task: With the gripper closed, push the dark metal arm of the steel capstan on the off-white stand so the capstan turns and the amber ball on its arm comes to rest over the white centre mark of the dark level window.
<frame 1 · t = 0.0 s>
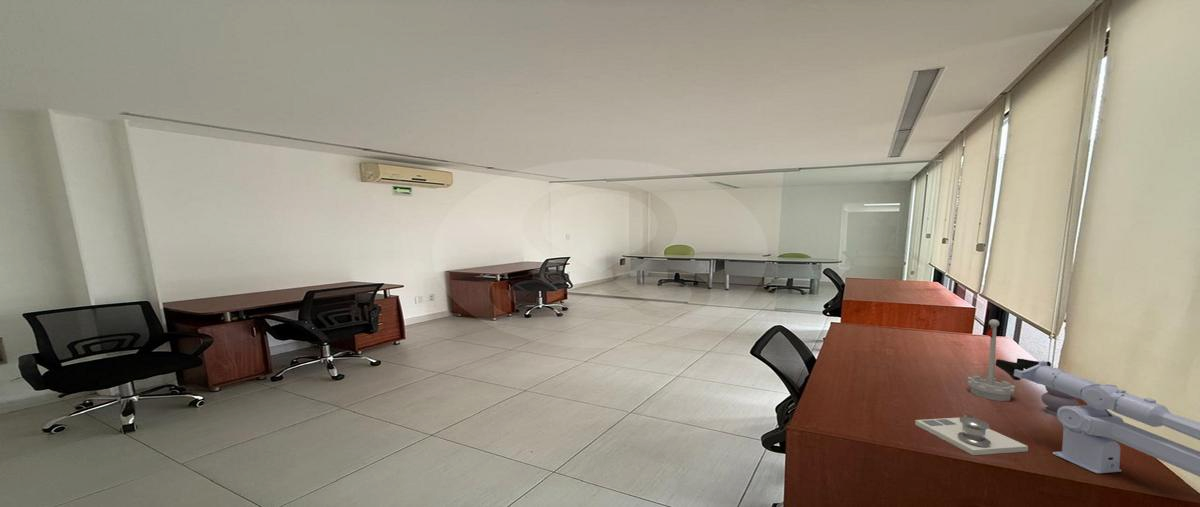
hand: (1007, 361, 126), 22 cm above the table, tool horizontal, fingers open, 7 cm apart
grey wavy vase: (1058, 414, 137), on the table
flag stand: (989, 395, 153), on the table
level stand: (967, 437, 121), on the table
capstan: (972, 425, 120), point 4 cm above the table, hinge at -45.0°
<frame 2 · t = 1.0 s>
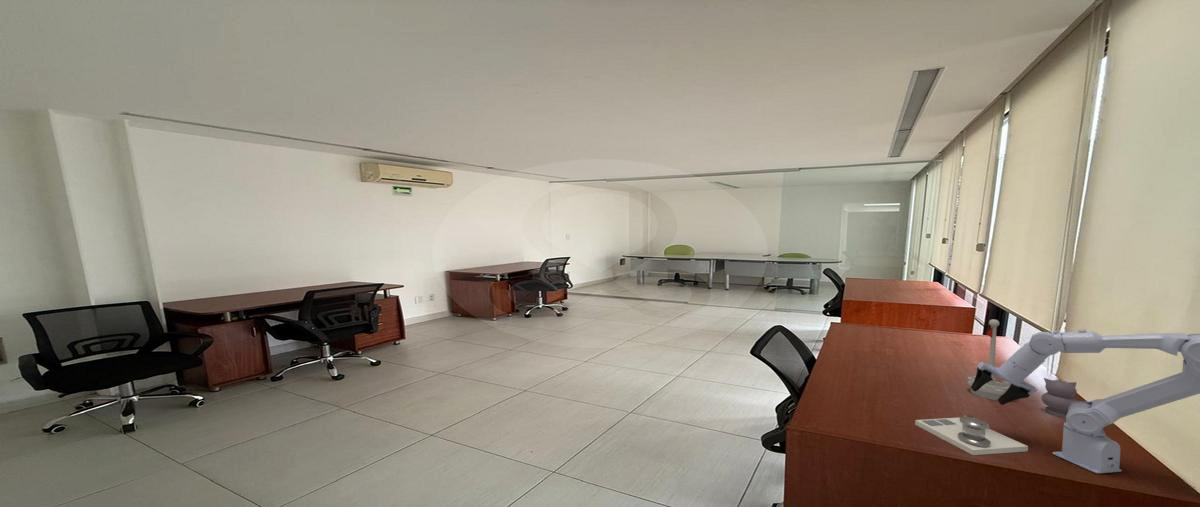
hand: (986, 395, 123), 12 cm above the table, tool tilted 30°, fingers open, 7 cm apart
nothing on the table moved.
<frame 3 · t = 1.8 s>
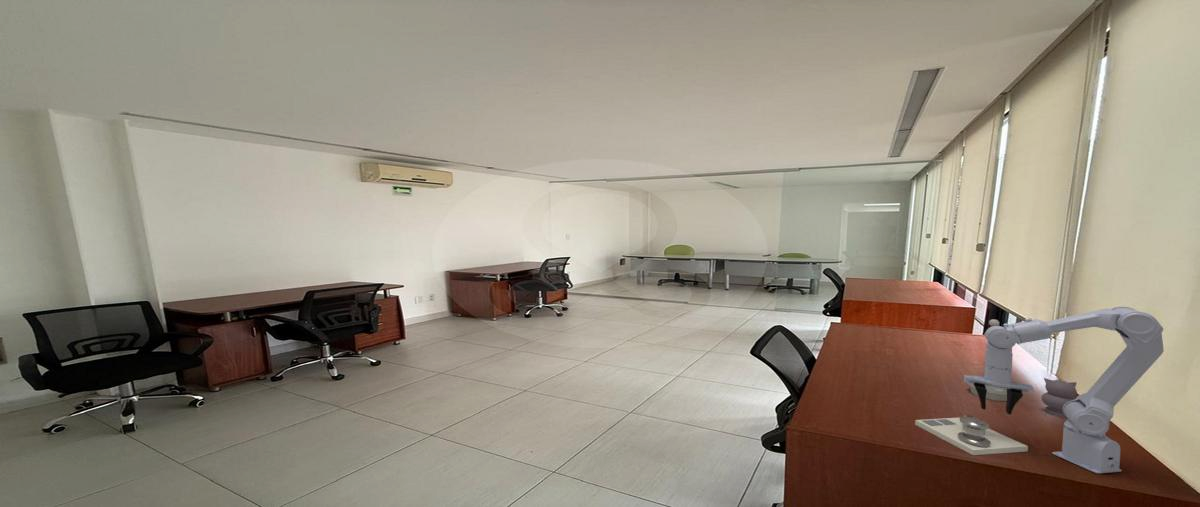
hand: (995, 410, 119), 9 cm above the table, tool pointing down, fingers open, 5 cm apart
nothing on the table moved.
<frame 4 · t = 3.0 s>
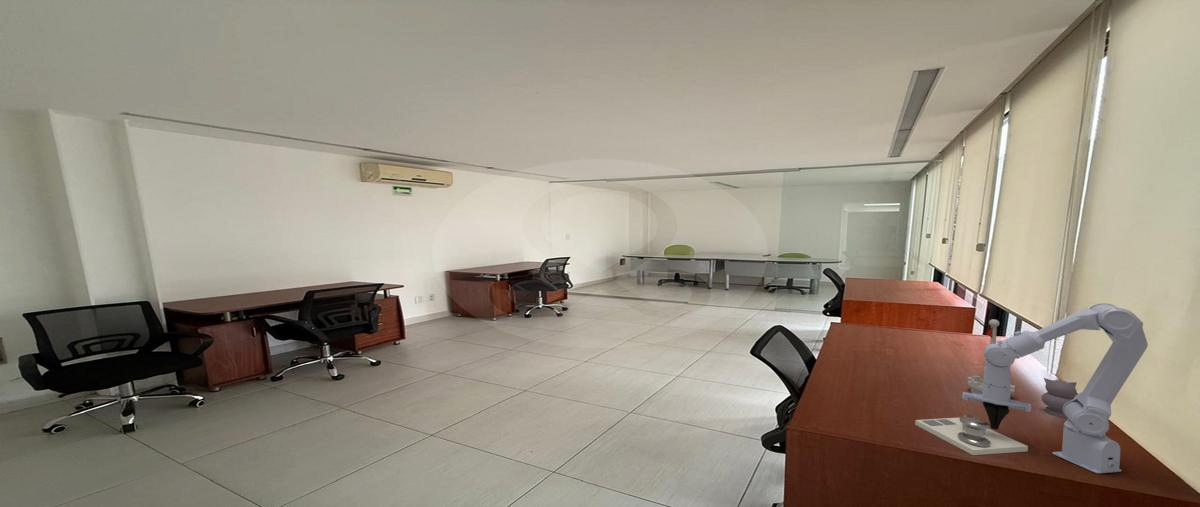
hand: (993, 428, 119), 4 cm above the table, tool pointing down, fingers closed
nothing on the table moved.
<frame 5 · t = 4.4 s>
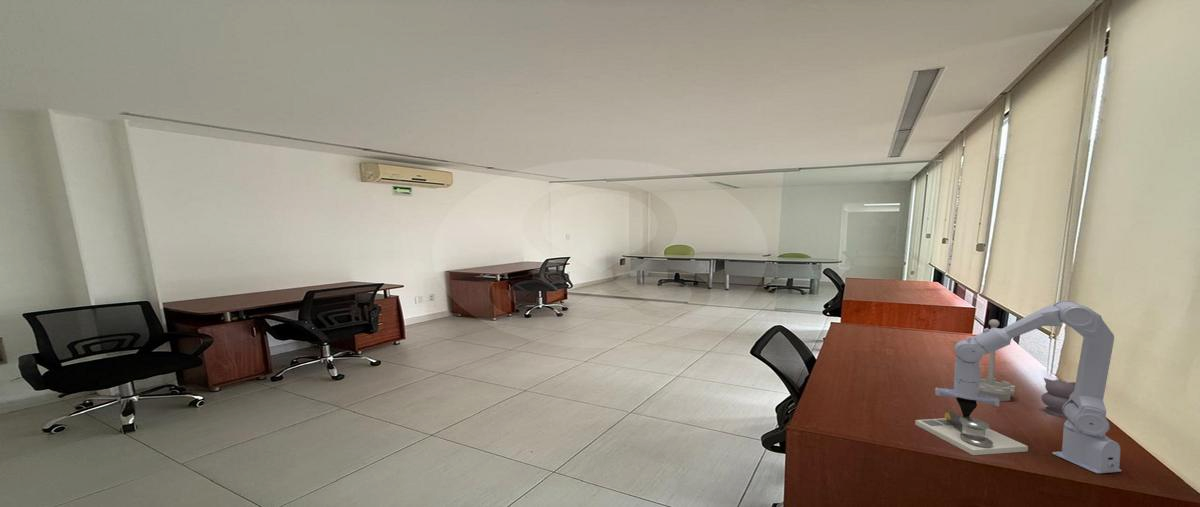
hand: (965, 422, 123), 4 cm above the table, tool pointing down, fingers closed, pressing on capstan
capstan: (965, 424, 120), point 4 cm above the table, hinge at -19.7°, touching gripper
everything else where it was.
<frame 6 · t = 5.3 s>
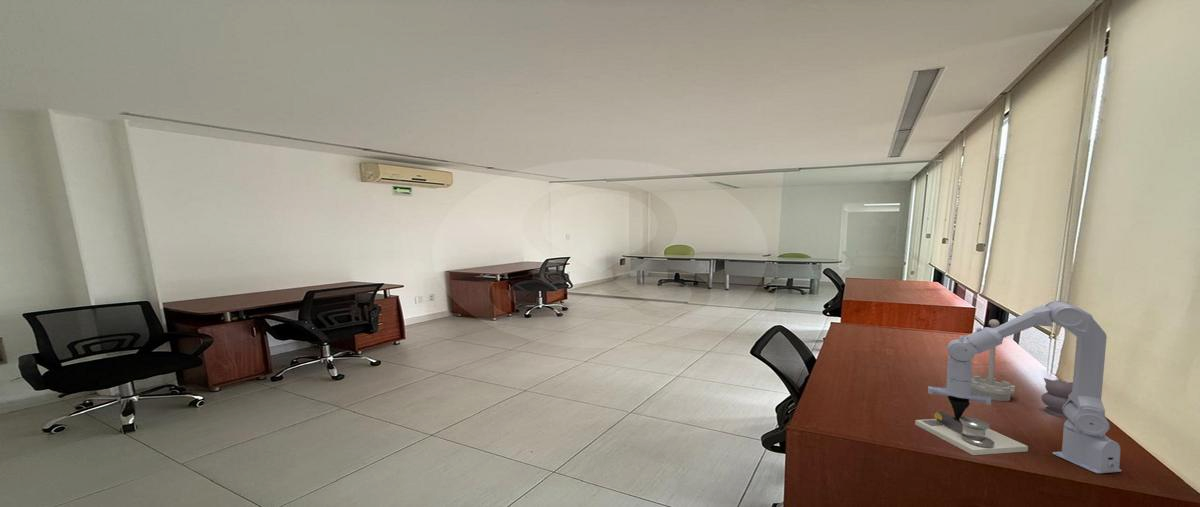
hand: (957, 420, 124), 4 cm above the table, tool pointing down, fingers closed
capstan: (961, 424, 120), point 4 cm above the table, hinge at -2.6°, touching gripper
everything else where it was.
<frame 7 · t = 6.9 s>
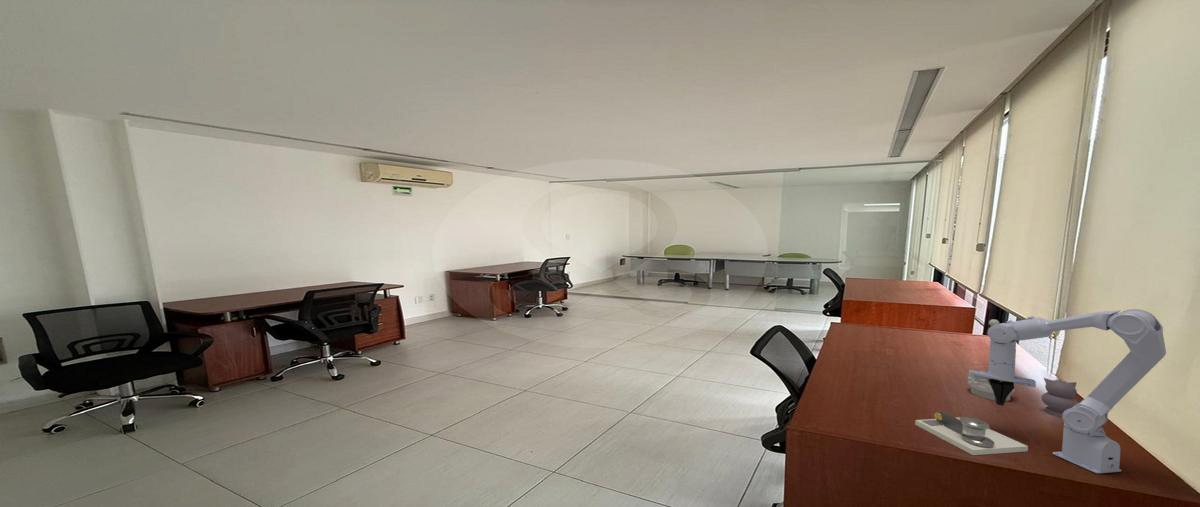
hand: (999, 404, 123), 9 cm above the table, tool pointing down, fingers closed
capstan: (961, 424, 120), point 4 cm above the table, hinge at -2.3°
everything else where it was.
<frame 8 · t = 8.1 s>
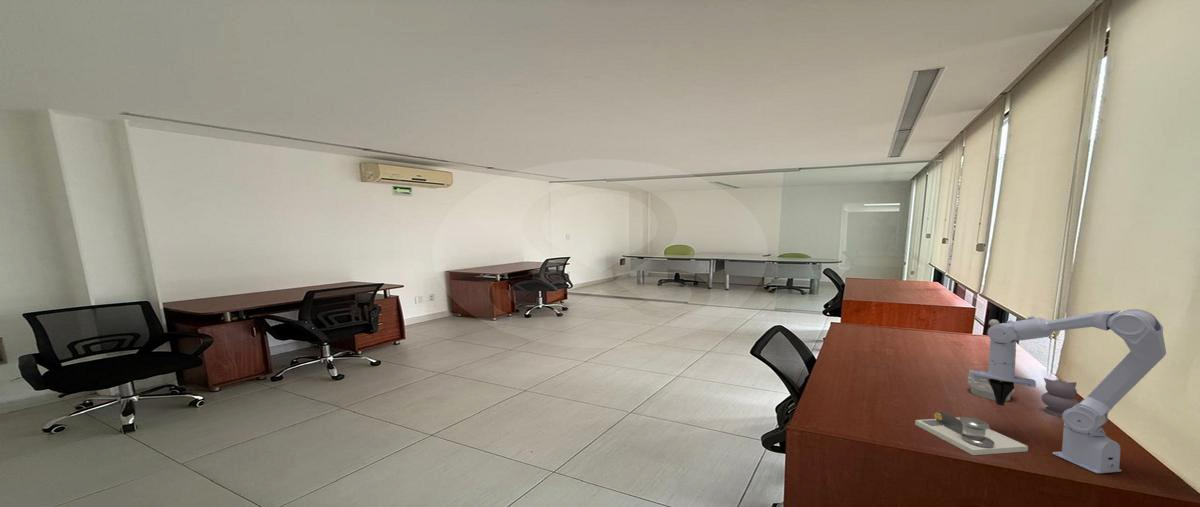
hand: (999, 404, 123), 9 cm above the table, tool pointing down, fingers closed
nothing on the table moved.
at the end: capstan at -2° (first picture: -45°); the gripper is holding nothing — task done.
